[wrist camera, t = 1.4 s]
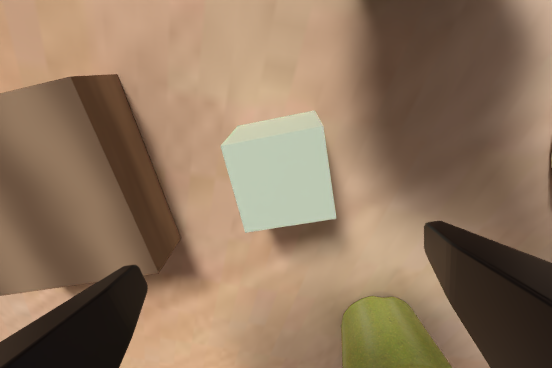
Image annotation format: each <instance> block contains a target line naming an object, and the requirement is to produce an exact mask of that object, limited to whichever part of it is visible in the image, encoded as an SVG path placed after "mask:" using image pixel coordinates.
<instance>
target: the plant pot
mask: <svg viewBox="0 0 552 368" xmlns="http://www.w3.org/2000/svg"><path fill="white" fill-rule="evenodd" d="M341 333H342V362H343V368H452V367H451V365H450V364H449V362H448V361H447V360H446V358H445V357H444V355H443V354H442V352H441V351H440V350H439V348H438V347H437V345H436V344H435V342H434V341H433V339H432V338H431V337H430V335H429V334H428V332H427V331H426V329H425V328H424V326H423V325H422V323H421V322H420V320H419V319H418V317H417V316H416V315H415V313H414V312H413V310H412V309H411V307H410V306H409V305H408V304H407V303H405V302H404V301H402V300H400V299H398V298H395V297H388V298H381V297H375V296H370V297H366V298H363V299H361V300H359V301H357V302H355V303H354V304H352V305H351V306H350V307H349V308H348V309H347V310H346V311H345V313H344V315H343V319H342V325H341Z"/></svg>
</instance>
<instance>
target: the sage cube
mask: <svg viewBox="0 0 552 368" xmlns="http://www.w3.org/2000/svg"><path fill="white" fill-rule="evenodd" d="M221 149H222V153H223V156H224V160H225V163H226V167H227V170H228V174H229V177H230V181H231V184H232V188H233V191H234V195H235V198H236V202H237V205H238V209H239V212H240V216H241V219H242V223H243V226H244V230H245V233H246V232H253V231H259V230H266V229H272V228H279V227H285V226H292V225H298V224H305V223H311V222H318V221H324V220H331V219H336V212H335V205H334V198H333V191H332V184H331V177H330V170H329V163H328V156H327V149H326V142H325V135H324V127H323V125H322V123H321V121H320V119H319V117H318V116H317V114H316V112H315V110H314V111H309V112H304V113H299V114H294V115H289V116H284V117H279V118H274V119H269V120H264V121H259V122H254V123H249V124H244V125H239V126H237V127H236V128H235V130H234V131H233V132H232V133H231V134H230V135H229V137H228V138H227V139H226V140H225V141H224V142H223V144H222V145H221Z"/></svg>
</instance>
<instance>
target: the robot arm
mask: <svg viewBox="0 0 552 368" xmlns="http://www.w3.org/2000/svg"><path fill="white" fill-rule="evenodd" d="M424 249H425V253H426V255H427V257H428V259H429V262H430V264H431V266H432V268H433V270H434V272H435V274H436V276H437V278H438V280H439V282H440V284H441V286H442V288H443V290H444V292H445V294H446V296H447V298H448V300H449V302H450V304H451V305H452V307H453V309H454V310H455V312H456V314H457V315H458V317H459V318H460V320H461V322H462V323H463V325H464V326H465V328H466V329H467V331H468V333H469V334H470V336H471V337H472V339H473V341H474V342H475V344H476V345H477V347H478V348H479V350H480V352H481V353H482V355H483V356H484V358H485V360H486V361H487V363H488V364H489V366H490V367H491V368H552V263H550V262H548V261H545V260H542V259H540V258H537V257H535V256H532V255H529V254H527V253H524V252H521V251H519V250H516V249H514V248H511V247H508V246H506V245H503V244H500V243H498V242H495V241H493V240H490V239H487V238H485V237H482V236H479V235H477V234H474V233H471V232H469V231H466V230H464V229H461V228H458V227H456V226H453V225H450V224H448V223H445V222H443V221H434V222H428V223H426V224H425V226H424ZM147 289H148V288H147V283H146V280H145V278H144V276H143V274H142V272H141V270H140V268H139V267H138V266H137V265H127V266H123V267H121V268H120V269H118V270H116V271H115V272H113V273H111V274H110V275H108V276H107V277H105V278H103V279H102V280H100V281H99V282H97V283H95V284H94V285H92V286H90V287H89V288H87V289H86V290H84V291H82V292H81V293H79V294H77V295H76V296H74V297H73V298H71V299H69V300H68V301H66V302H64V303H63V304H61V305H60V306H58V307H56V308H55V309H53V310H52V311H50V312H48V313H47V314H45V315H43V316H42V317H40V318H39V319H37V320H35V321H34V322H32V323H30V324H29V325H27V326H26V327H24V328H22V329H21V330H19V331H18V332H16V333H14V334H13V335H11V336H9V337H8V338H6V339H5V340H3V341H1V342H0V368H119V367H120V364H121V362H122V360H123V357H124V355H125V353H126V350H127V348H128V346H129V343H130V341H131V338H132V336H133V333H134V330H135V327H136V324H137V321H138V318H139V315H140V312H141V309H142V306H143V303H144V300H145V297H146V293H147Z"/></svg>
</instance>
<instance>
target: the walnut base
mask: <svg viewBox="0 0 552 368" xmlns="http://www.w3.org/2000/svg"><path fill="white" fill-rule="evenodd" d="M179 240H180V235H179V232H178V230H177V227H176V225H175V222H174V220H173V217H172V215H171V212H170V209H169V207H168V204H167V202H166V199H165V197H164V194H163V191H162V189H161V186H160V184H159V181H158V179H157V176H156V173H155V171H154V168H153V166H152V163H151V161H150V158H149V156H148V153H147V150H146V148H145V145H144V143H143V140H142V138H141V135H140V132H139V130H138V127H137V125H136V122H135V120H134V117H133V114H132V112H131V109H130V107H129V104H128V102H127V99H126V97H125V94H124V91H123V89H122V86H121V84H120V81H119V79H118V76H117V74H113V75H94V76H74V77H67V78H63V79H59V80H54V81H50V82H46V83H42V84H38V85H33V86H29V87H25V88H21V89H17V90H13V91H8V92H4V93H0V296H2V295H10V294H17V293H24V292H31V291H38V290H45V289H52V288H59V287H66V286H73V285H80V284H87V283H94V282H99V281H100V280H102V279H103V278H105V277H107V276H108V275H110V274H111V273H113V272H115V271H116V270H118V269H120V268H121V267H123V266H127V265H137V266H138V267H139V268H140V270H141V272H142V274H143V275H150V274H157V273H159V272H160V270H161V269H162V267H163V265H164V264H165V262H166V261H167V259H168V258H169V256H170V254H171V253H172V251H173V250H174V248H175V246H176V245H177V243H178V242H179Z"/></svg>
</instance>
